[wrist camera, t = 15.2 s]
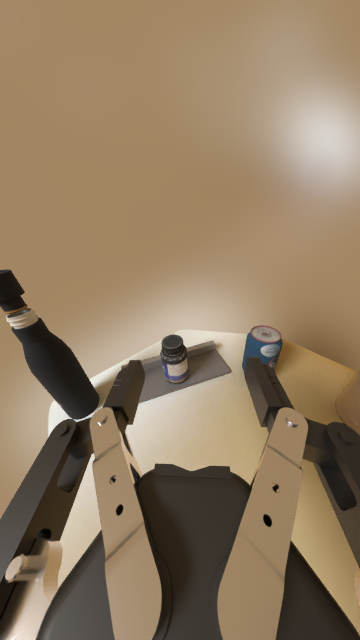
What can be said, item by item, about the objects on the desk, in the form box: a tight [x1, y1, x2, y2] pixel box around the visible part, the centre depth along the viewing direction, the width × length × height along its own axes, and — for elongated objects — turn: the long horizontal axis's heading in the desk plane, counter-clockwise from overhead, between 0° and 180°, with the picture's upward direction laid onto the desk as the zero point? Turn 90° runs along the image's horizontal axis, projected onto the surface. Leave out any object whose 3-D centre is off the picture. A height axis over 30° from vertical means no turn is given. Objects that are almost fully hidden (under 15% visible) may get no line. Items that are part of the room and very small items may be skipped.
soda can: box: [242, 326, 283, 371], centre depth 37 cm, size 7×7×12 cm
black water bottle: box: [0, 270, 99, 419], centre depth 29 cm, size 6×6×30 cm
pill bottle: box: [160, 335, 189, 384], centre depth 38 cm, size 6×6×11 cm
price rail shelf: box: [122, 341, 231, 403], centre depth 41 cm, size 26×10×3 cm, turn 107°
